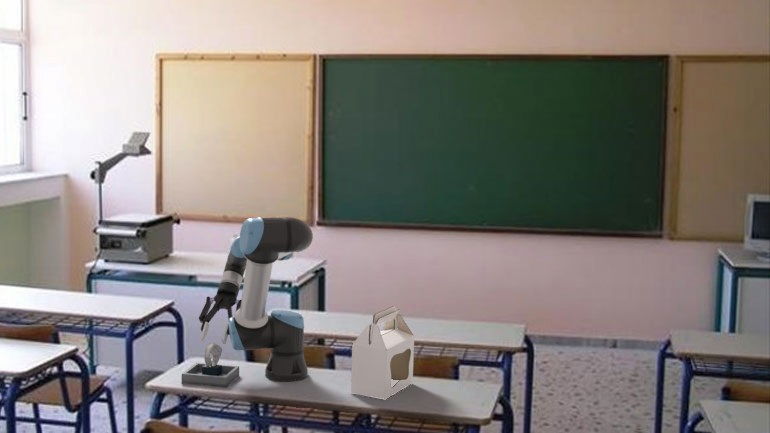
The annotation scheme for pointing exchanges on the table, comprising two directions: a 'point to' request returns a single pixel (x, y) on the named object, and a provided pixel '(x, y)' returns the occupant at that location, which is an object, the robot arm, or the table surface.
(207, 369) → the watch
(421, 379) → the table surface
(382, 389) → the gable box
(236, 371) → the tray
